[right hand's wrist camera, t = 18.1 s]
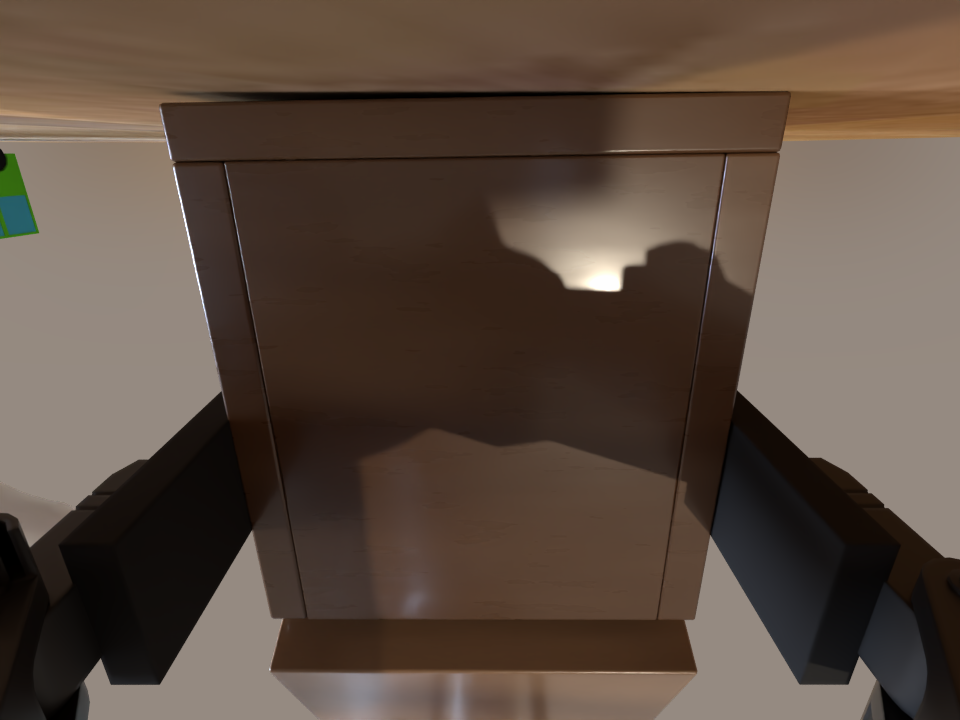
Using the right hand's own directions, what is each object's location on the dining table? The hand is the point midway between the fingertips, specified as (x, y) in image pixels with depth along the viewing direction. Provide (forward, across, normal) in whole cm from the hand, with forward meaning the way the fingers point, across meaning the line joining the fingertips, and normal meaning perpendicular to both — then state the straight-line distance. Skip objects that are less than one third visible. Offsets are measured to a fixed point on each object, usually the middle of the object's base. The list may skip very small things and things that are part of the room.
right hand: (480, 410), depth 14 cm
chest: (+5, 0, -7) cm, 9 cm away
